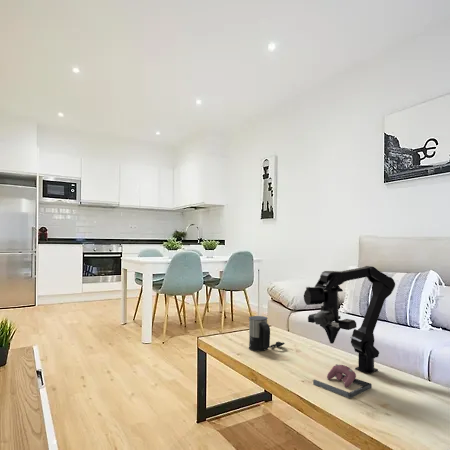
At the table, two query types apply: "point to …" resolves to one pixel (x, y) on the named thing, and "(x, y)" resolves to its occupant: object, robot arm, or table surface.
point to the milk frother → (260, 334)
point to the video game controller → (340, 370)
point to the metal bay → (351, 394)
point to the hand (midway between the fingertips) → (331, 343)
